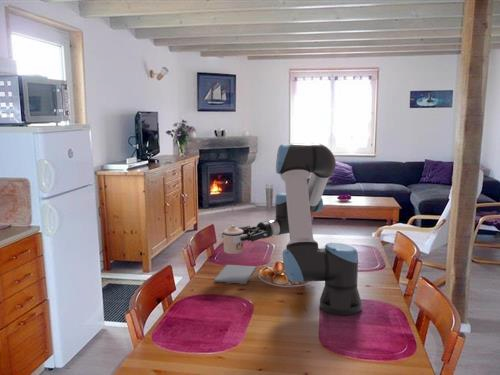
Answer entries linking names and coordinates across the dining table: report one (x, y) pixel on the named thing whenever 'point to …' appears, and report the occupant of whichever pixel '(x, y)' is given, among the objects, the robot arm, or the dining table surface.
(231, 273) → the serving board
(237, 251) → the teacup with lid
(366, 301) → the dining table surface
